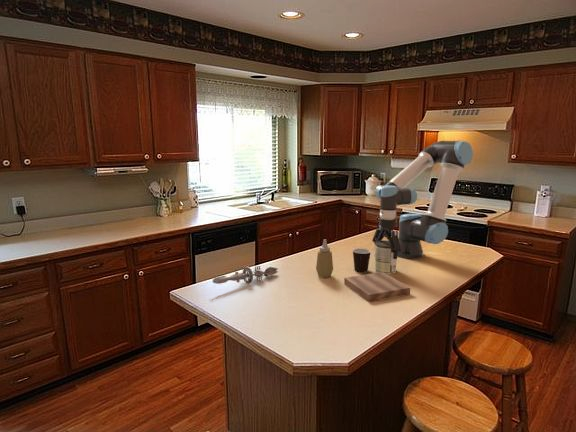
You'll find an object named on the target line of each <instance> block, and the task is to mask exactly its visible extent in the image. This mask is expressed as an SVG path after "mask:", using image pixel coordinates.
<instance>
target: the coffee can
mask: <svg viewBox="0 0 576 432" xmlns="http://www.w3.org/2000/svg"><path fill="white" fill-rule="evenodd" d="M375 244H376V250H375V249H374V271H375V273H380V272H383V273H385V274H387V275H393V274H395V273H396V272H397V264H396V265H392V266H391V252H392V248H391V245H390V243H389V240H383V239H382V240H381V241H377V242H376V243H375ZM375 244H374V245H375Z"/></svg>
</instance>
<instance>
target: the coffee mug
mask: <svg viewBox="0 0 576 432" xmlns="http://www.w3.org/2000/svg"><path fill="white" fill-rule="evenodd" d="M371 253H372V251H371V250H370V249H367V248H362V247H360V248H354V249H352V256H353V268H354V269H353V270H354V271H355V272H357V273H360V274H364V273H367V272H368V270H369V264H370V259H371V258H370V257H371Z"/></svg>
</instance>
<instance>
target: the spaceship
mask: <svg viewBox="0 0 576 432" xmlns="http://www.w3.org/2000/svg"><path fill="white" fill-rule="evenodd" d="M277 273H279V271H278V268H277V267H272V266H269V267H264V268H262V269H261V266H260V265H257V266H254V270H252V268H251V267H250V266H245V267H244V268H243V269H242V272H240V273H239V271H235V272H234V274H231V275H229V276H227V275H220V276H216V277H215V278H212V283H214V284H216V285H220V284H225V283H227V282H228V281H233V282H236V283H240V282H241V281H242V280H243V282H245V284H246V285H250V284H251V283H252V282H253V280H254V278H255V279H256V282H260V281H261V280H262V281H263V277H266V278H267V277H269V276H270V277H272V276H274V275H276V274H277ZM240 280H241V281H240Z"/></svg>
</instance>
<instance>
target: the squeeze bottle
mask: <svg viewBox="0 0 576 432" xmlns="http://www.w3.org/2000/svg"><path fill="white" fill-rule="evenodd" d="M327 242H328V240H327V239H323V242H322V245H321V246H319V251H318V252H317V257H316V265H315V270H316V274H317V276H318V278H321V279H328V278H331V276H332V274H333V272H334V263H333V252H332V251H331V247H330V246H329V245H328V243H327Z"/></svg>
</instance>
